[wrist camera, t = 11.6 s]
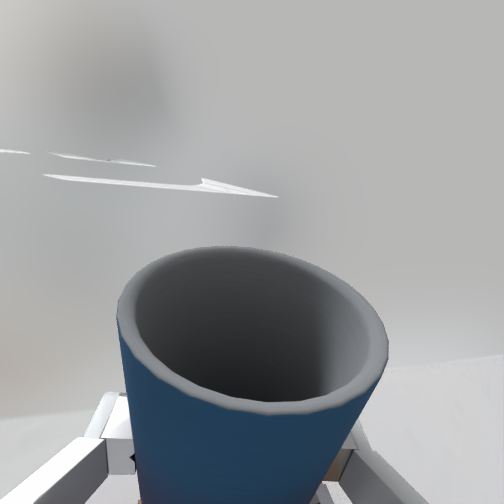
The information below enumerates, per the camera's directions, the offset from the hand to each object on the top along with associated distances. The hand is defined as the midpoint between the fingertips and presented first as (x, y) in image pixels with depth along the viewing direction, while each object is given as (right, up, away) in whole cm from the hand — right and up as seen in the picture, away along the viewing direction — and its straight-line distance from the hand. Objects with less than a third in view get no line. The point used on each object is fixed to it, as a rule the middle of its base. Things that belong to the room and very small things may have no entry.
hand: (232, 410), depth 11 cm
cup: (-1, -9, +3) cm, 10 cm away
